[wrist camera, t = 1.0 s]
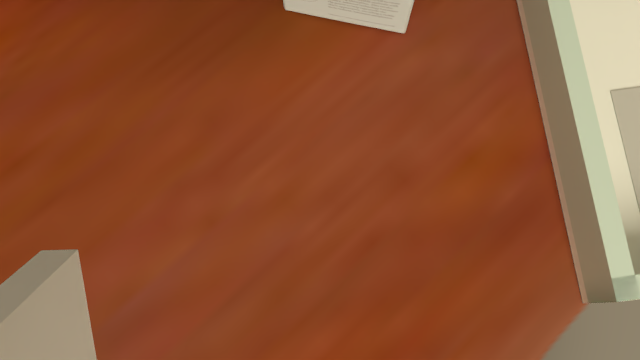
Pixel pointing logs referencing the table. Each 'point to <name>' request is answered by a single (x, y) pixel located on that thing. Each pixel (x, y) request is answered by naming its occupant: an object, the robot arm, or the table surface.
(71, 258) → the robot arm
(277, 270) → the table surface
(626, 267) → the tray
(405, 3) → the small box
